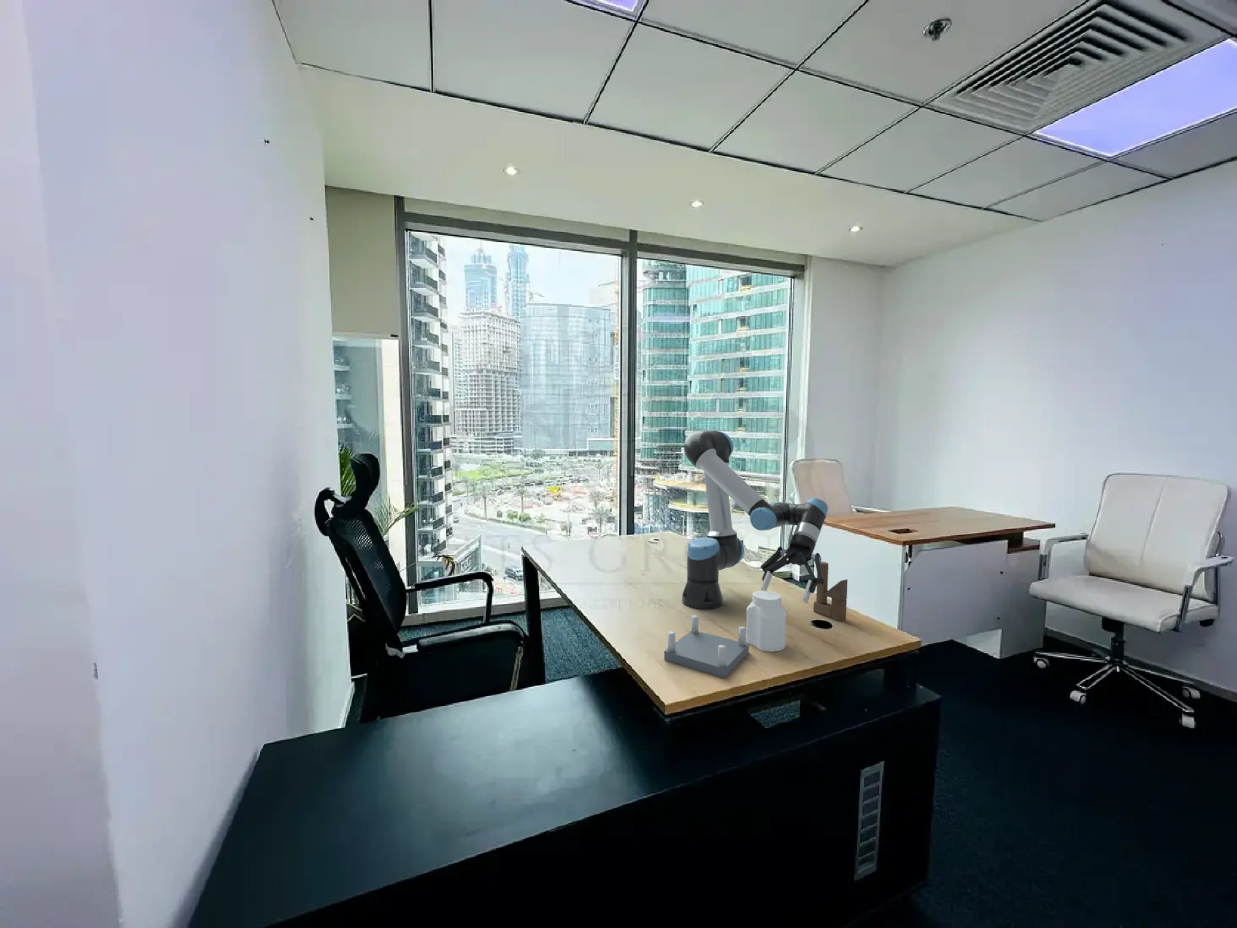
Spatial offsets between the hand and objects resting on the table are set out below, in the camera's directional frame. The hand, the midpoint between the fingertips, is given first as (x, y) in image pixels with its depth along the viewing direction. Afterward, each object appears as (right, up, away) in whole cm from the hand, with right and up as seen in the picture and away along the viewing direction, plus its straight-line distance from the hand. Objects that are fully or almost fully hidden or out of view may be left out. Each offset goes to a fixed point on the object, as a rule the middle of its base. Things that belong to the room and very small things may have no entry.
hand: (783, 595), depth 152 cm
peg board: (-26, -14, -12) cm, 32 cm away
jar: (-7, -14, -3) cm, 16 cm away
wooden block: (+23, -12, +20) cm, 32 cm away
